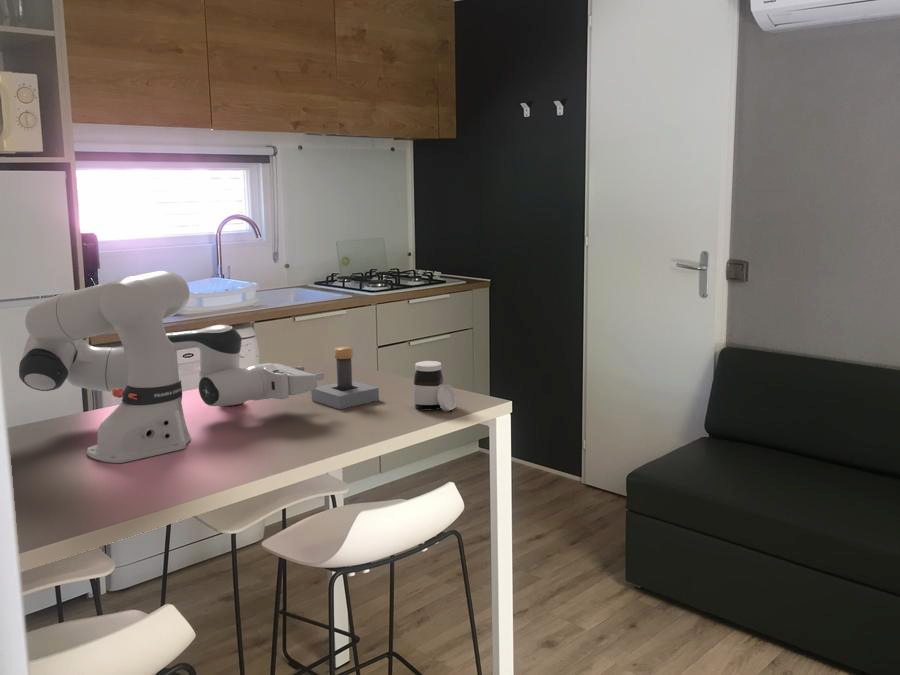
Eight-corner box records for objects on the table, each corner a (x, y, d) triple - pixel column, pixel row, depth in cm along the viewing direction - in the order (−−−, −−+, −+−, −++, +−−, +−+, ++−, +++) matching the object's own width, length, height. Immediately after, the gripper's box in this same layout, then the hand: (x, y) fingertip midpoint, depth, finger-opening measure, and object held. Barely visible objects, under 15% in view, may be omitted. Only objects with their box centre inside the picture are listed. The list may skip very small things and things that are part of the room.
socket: (339, 409, 221) (339, 396, 220) (311, 400, 230) (311, 387, 230) (378, 400, 230) (378, 387, 229) (350, 392, 239) (350, 380, 238)
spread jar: (417, 401, 228) (416, 359, 226) (459, 402, 227) (458, 359, 225) (410, 413, 216) (409, 369, 214) (455, 414, 215) (454, 369, 213)
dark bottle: (350, 401, 227) (348, 350, 224) (333, 400, 228) (331, 349, 226) (357, 397, 232) (355, 347, 229) (340, 396, 233) (338, 346, 230)
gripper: (246, 385, 220) (292, 377, 229) (286, 400, 205) (334, 391, 214) (244, 362, 219) (291, 354, 228) (285, 375, 204) (333, 366, 213)
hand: (312, 372), depth 221 cm, fingers open, 8 cm apart
